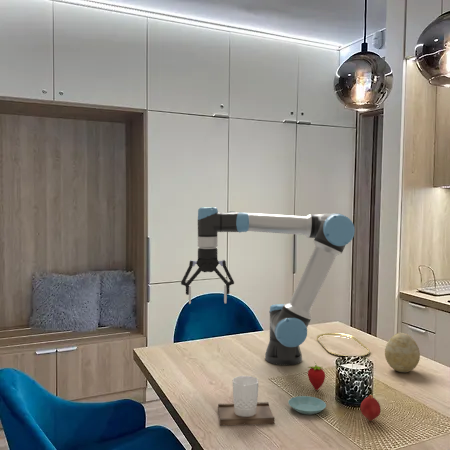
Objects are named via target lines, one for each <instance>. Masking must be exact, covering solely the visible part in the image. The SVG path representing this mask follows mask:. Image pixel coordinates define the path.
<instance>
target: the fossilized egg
mask: <svg viewBox="0 0 450 450" xmlns="http://www.w3.org/2000/svg"><path fill="white" fill-rule="evenodd" d="M384 356H385V360H386V363H388V365H389V367H391V369H392V370H394V371H397V372H399V373H408V372H411V371H413V370H414V369H416V367H417V366H418V364H419V363H420V361H421V360H420V359H421V353H420V349H419V345H418V344H417V342H416V341H415V339H414V338H413V337H412V336H410V335H409V334H408V333H406V332H398V333H395V334H394V335H392V336H391V337H390V339H389V340H388V341H387V343H386V345H385V348H384Z"/></svg>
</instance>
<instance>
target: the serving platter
mask: <svg viewBox="0 0 450 450" xmlns="http://www.w3.org/2000/svg"><path fill="white" fill-rule="evenodd" d="M323 335H342V336H347V337H350V338H352V339H354V340H355V341H357V342H358V343H359V344H361V346H363V347H364V348H366V349H367V350H368V351H369V352H368V353H367V354H368V355H369V354H370V353H371V351H370V349H369V348H368V347H367V346H366V345H365V344H363V343H362V342H361V341H360V340H359V338H357V337H355V336H354V335H350V334H345V333H339V332H326V333H321V334H318V335H316V338H315V339H316V340H317V342H319V344H321V346H322V347H323V348H324V349H325V350H326V351H327V352H328V353H329V354H330V353H331V354H330V355H333V354H334V355H333V356H335V355H339V356H348V355H347V354H339V353H334V352H332V351H330V350H329V349H328V348H327V347H326V345H325V344H323V342H320V341H321V340H320V341H319V340H318V338H319V337H320V336H323ZM352 339H351V340H352ZM325 347H326V348H327V349H328V350H329V351H328V350H327V349H326V348H325ZM367 354H366V353H365V354H360V355H358V356H364V355H367ZM368 355H367V356H368ZM339 356H338V357H339ZM364 357H365V356H364Z"/></svg>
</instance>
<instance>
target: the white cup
mask: <svg viewBox="0 0 450 450" xmlns="http://www.w3.org/2000/svg"><path fill="white" fill-rule="evenodd" d="M258 392H259V379H258V378H257V377H255V376H252V375H239V376H236V377H233V379H232V397H233V400H232V401H233V403H234V412H235V414H236V415H238V416H241V417H250V416H253V415H255V414H256V411H257V403H258V396H259V393H258Z"/></svg>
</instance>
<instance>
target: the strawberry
mask: <svg viewBox="0 0 450 450" xmlns="http://www.w3.org/2000/svg"><path fill="white" fill-rule="evenodd" d="M314 364H315V365H314V366H308V367H307V368H309V369H308V371H307V378H308V381H309V382H310V383H311V384H310V385H312V387H313V388H314V390H316V391H318V390H320V388H321V387H322V386H323V384H324V382H325V380H326V373H325V371H324V369H323V366H318V365H317V363H316V362H314Z"/></svg>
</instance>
